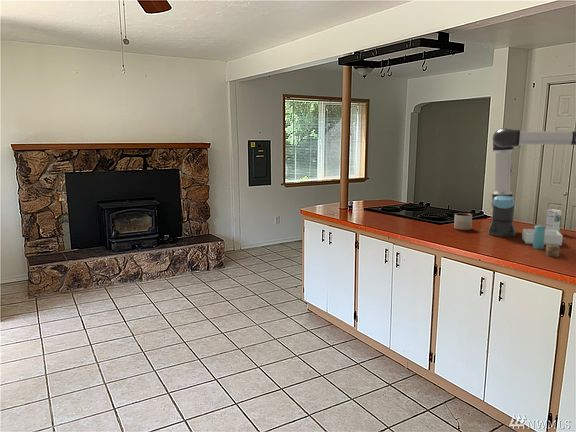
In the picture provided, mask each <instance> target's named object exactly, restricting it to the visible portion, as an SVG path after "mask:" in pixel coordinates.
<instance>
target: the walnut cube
mask: <svg viewBox="0 0 576 432" xmlns="http://www.w3.org/2000/svg"><path fill="white" fill-rule="evenodd" d="M560 248H561V247H560V246H558V245H550V244H546V245H545V255H546V256H547V257H558V258H559V257H560Z"/></svg>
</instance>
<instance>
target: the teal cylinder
mask: <svg viewBox="0 0 576 432" xmlns="http://www.w3.org/2000/svg"><path fill="white" fill-rule="evenodd" d="M533 227H534V239H533V244H532V249H537V250H543V249H544V247H545V245H544V236H545V230H546V225H542V224H541V225H540V224H539V225H537V224H536V225H534V226H533Z"/></svg>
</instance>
